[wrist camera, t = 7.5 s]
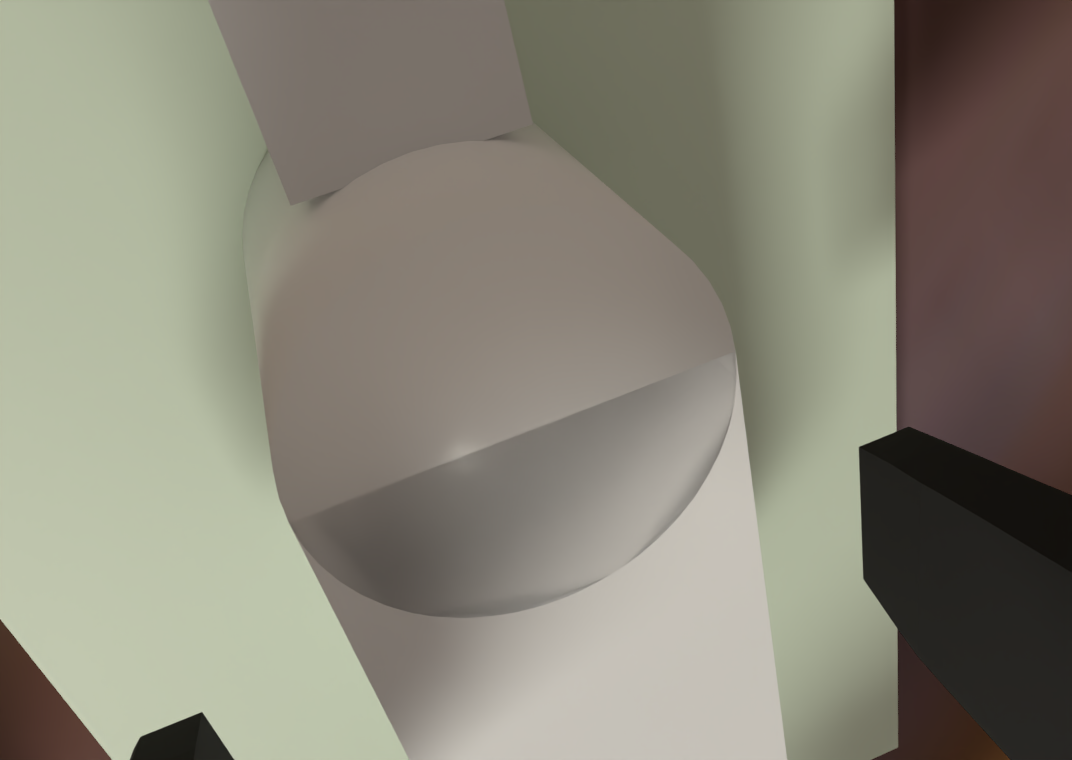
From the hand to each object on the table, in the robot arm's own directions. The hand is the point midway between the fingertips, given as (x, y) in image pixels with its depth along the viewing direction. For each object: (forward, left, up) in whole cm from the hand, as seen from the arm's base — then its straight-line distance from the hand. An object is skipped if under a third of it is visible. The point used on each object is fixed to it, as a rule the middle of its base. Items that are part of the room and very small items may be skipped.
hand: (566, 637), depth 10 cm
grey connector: (+1, 0, -3) cm, 3 cm away
